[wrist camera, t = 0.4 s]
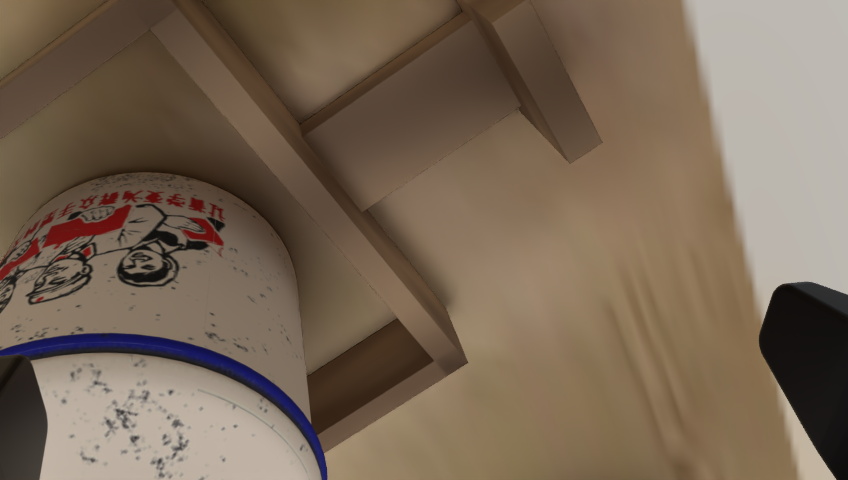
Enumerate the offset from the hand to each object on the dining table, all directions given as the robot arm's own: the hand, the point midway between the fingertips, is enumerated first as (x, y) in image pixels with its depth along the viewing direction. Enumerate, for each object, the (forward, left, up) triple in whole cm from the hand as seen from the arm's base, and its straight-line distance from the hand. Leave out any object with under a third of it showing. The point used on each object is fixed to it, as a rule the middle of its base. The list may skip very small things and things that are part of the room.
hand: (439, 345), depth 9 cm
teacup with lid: (-3, +10, -14) cm, 17 cm away
